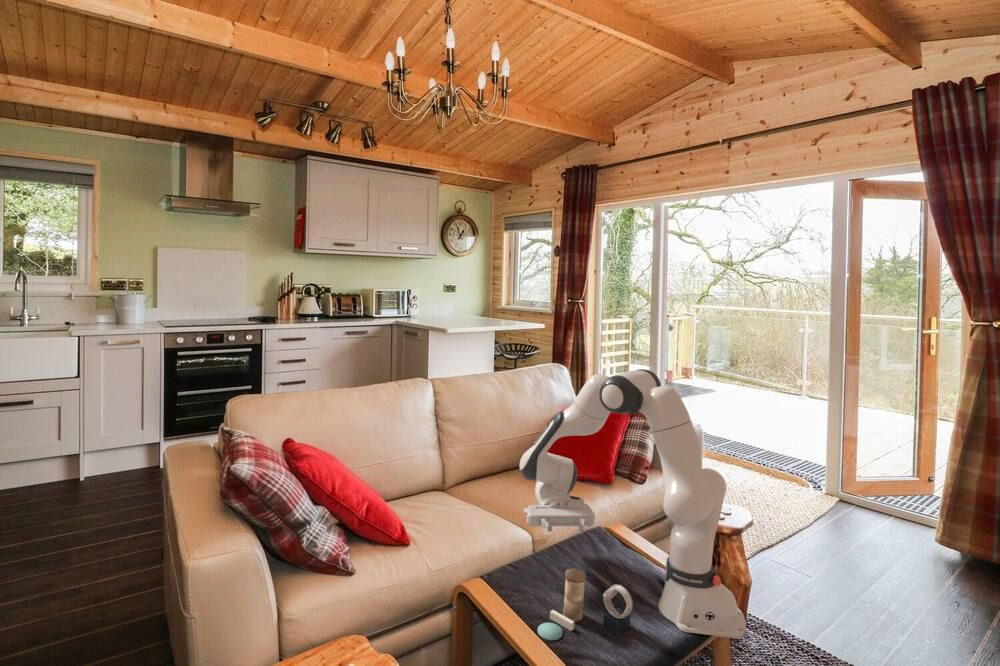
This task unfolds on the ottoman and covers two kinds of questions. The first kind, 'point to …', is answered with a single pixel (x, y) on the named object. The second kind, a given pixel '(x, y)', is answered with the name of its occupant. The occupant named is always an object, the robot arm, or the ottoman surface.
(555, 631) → the coaster
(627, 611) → the watch
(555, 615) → the rail
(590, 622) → the ottoman surface
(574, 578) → the spool
